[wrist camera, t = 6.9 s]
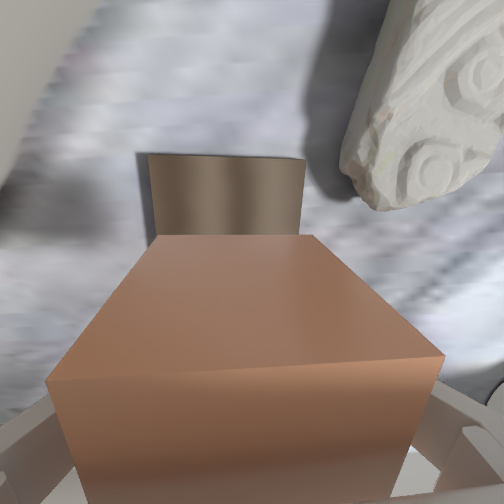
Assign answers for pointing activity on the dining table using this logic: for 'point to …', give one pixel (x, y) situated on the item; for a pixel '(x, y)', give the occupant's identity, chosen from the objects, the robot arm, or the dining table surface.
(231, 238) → the peach block
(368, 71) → the stone
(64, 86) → the dining table surface
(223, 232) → the board
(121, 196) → the dining table surface
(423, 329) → the dining table surface
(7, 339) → the dining table surface
